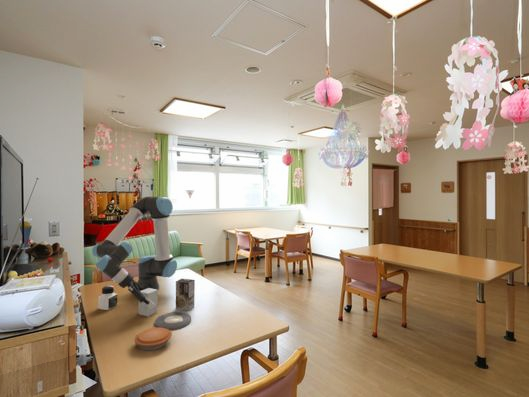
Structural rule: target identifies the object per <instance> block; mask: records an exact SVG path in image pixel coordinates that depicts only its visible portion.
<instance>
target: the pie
mask: <svg viewBox="0 0 529 397" xmlns="http://www.w3.org/2000/svg"><path fill="white" fill-rule="evenodd" d="M172 336H173V332H172V330H168V329H165V328H157V327H151V328H147V329H145V330H143V331H141V332H139V333H138V334H136V336H135V337H134V343H135V344H136V345H137V346H138V348H139V349H141V350H142V351H145V352H146V351H147V352H149V351H156V350H159V349H161V348H164V347H165V346H166V345H167V343H168V341H170V339H171V338H172Z"/></svg>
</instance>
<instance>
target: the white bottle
mask: <svg viewBox="0 0 529 397" xmlns="http://www.w3.org/2000/svg"><path fill="white" fill-rule="evenodd" d="M97 300H98V301H97V309H98V310H105V311H110V310H111V309H113V308H115V307H117V306H118V293H115V287H114V286H112V285H106V286H103V287H102V288H101V295H99V296H98V297H97Z"/></svg>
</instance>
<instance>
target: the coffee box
mask: <svg viewBox="0 0 529 397" xmlns="http://www.w3.org/2000/svg"><path fill="white" fill-rule="evenodd" d="M195 282H196V280H195V279H189V278H180V279H178V280H176V281H175V309H176V310H182V311H190V310H192V309H194V308H195V289H196V288H195Z"/></svg>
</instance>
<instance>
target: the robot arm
mask: <svg viewBox="0 0 529 397" xmlns="http://www.w3.org/2000/svg"><path fill="white" fill-rule="evenodd" d="M173 206H174V205H173V202H172V200H171V199H169V198H168V197H167V196H165V197H164V196H144V197H142V198H140V199H139V200H137V201H136V202H135V203H133V205H131V207H130V208H129V209H128V211H129V212H128V213H126V215H125V216H124V217H123V218H122V219H121V220H120V221H119V223H118V224H117V225H116V226H115V228H114V229H113V230H112V231H111V232H110V233H109V234H108V236H106V238H105V239H104V240H103V241H102V242H101V243H96V244H95V245H94V246H93V247H92V249H91V252H92V255H93V256H94V257H95V258H99V260H98V261H97V262H96V263H95V266H96V268H97V269H98V270H99V271H100V272H102V273H103V274H105V275H106V276H107V277H108V278H109V279H111V281H112V282H114V283H115V284H118V286H119V287H121V288H122V289H124V288H126V287H127V288H128V289H127V290H128V291H129V292H130V293H131V294H132V295H133V296H134V297H135V298H136V299H137V300H138V302H139V301H140V303H141V302H143V303H144V304H146V305H147V306H148V307H149V308H151V309H152V308H153V307H154V306H155V304H154V303H153V302H151V301H150V300H149V299H148V298H145V297H144V295H143V294H142V293H141V292H140V291H142V290H145V289H147V288H151V289H156V290H158V291H159V290H160V283H159V280H158V278H157V277H162V278H171V277H172V276H173V275H174V274H175V273H176V271H177V269H178V262H177V261H176V259H174V256H173V254H171V250H170V238H169V237H170V236H169V224H168V223H169V222H168V219H169V218H170V214H172V213H173ZM146 215H150V219H151V220H152V221H153V230H154V242H155V251H156V252H155V253H156V254H151V255H144V256H141V257H139V259H138V263H137V264H138V267H137V269H138V272H137V273H138V277H137V278H138V279H137V281H136V280H134V278H135V277H134V275H132V274H131V273H129V271H128V270H126V269H125V268H124V267H122V266H121V265H122V263H123V262H124V261H125V260H126V259H127V258H128V257H129V256H130V255H131V253H132V252H133V250H134V249H133V247H132V245H131V244H130V243H129V242H125V241H123V239H124V238H125V237H126V236H127V235H128V233H129V232H130V231H131V229H132V228H134V226H135V225H136V224H137V223H138V221H139V220H140V219H143V218H144V217H145V216H146ZM122 241H123V242H122ZM141 298H142V299H141Z"/></svg>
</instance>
